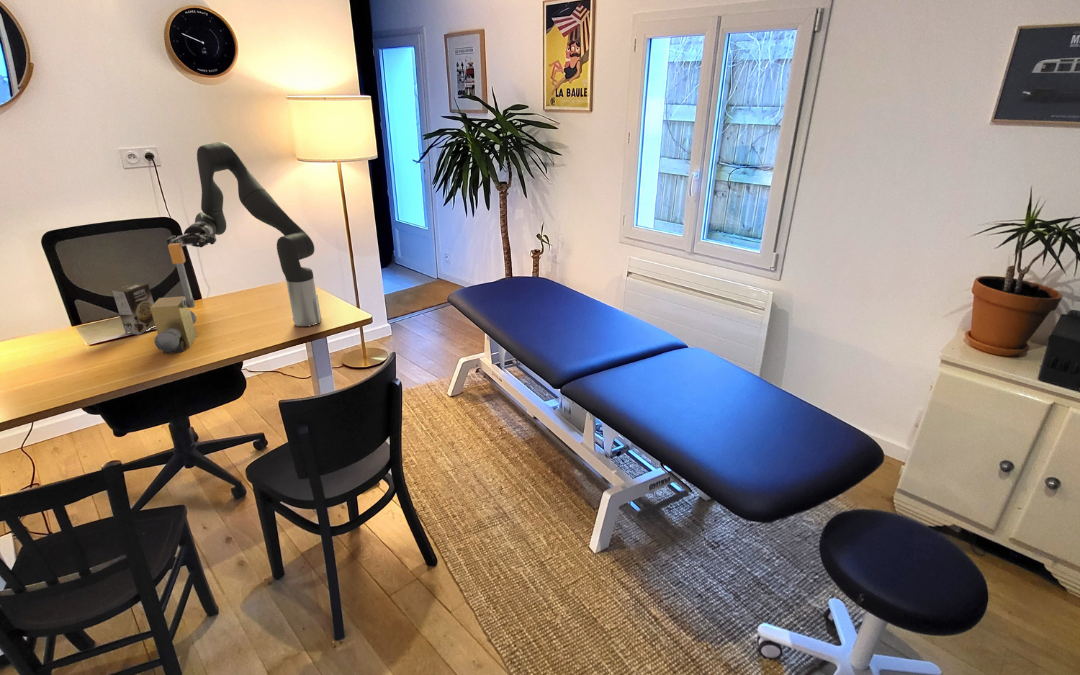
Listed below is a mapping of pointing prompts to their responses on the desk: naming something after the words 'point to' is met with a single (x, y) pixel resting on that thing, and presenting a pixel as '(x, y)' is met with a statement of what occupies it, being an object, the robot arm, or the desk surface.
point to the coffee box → (135, 307)
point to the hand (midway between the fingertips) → (186, 245)
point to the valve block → (173, 324)
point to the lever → (181, 271)
